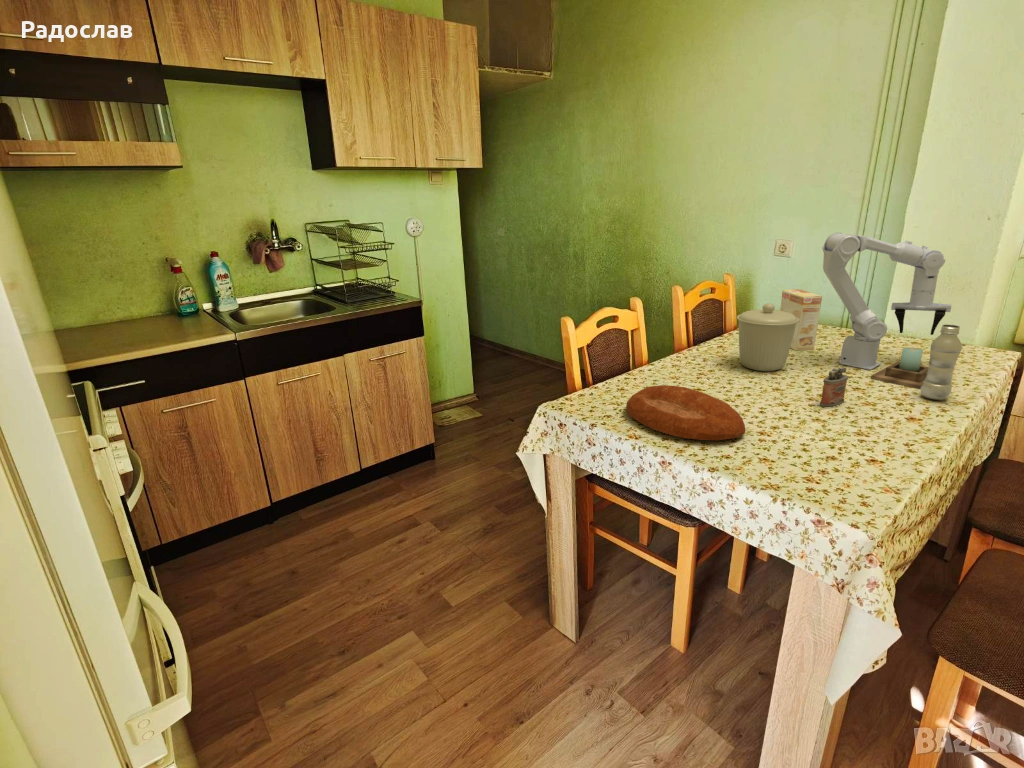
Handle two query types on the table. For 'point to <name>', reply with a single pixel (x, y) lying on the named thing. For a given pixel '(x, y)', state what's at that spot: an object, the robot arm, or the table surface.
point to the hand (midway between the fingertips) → (916, 333)
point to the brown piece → (901, 376)
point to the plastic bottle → (942, 364)
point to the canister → (765, 337)
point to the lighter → (834, 388)
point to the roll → (911, 359)
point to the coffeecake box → (802, 316)
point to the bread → (685, 413)
